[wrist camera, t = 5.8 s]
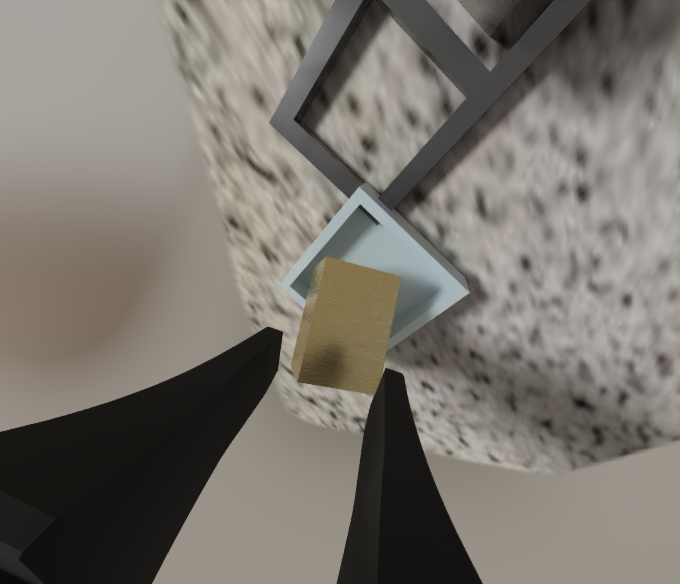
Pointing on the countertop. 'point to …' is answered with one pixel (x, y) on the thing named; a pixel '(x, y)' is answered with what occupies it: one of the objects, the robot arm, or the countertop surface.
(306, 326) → the tan wooden post
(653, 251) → the countertop surface
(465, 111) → the rail
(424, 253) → the parts tray
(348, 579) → the robot arm
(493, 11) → the grey block
